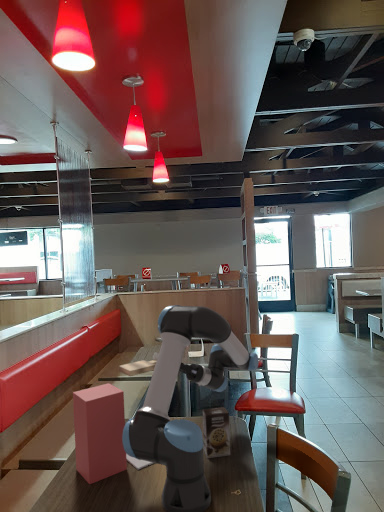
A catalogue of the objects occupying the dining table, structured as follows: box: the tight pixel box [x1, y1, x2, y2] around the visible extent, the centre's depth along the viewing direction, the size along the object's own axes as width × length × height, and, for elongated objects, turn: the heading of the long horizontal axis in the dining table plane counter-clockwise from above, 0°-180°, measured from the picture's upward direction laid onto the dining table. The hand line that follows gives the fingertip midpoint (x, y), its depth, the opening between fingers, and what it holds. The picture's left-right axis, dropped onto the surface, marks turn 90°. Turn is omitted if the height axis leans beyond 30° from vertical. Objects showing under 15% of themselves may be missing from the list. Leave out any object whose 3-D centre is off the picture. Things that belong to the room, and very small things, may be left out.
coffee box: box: [202, 406, 231, 459], centre depth 151 cm, size 9×6×16 cm
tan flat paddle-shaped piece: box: [118, 359, 157, 377], centre depth 156 cm, size 23×9×2 cm, turn 127°
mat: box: [126, 453, 154, 471], centre depth 157 cm, size 28×18×1 cm, turn 127°
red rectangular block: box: [72, 383, 128, 485], centre depth 143 cm, size 14×12×28 cm
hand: (156, 356), depth 157 cm, fingers closed on tan flat paddle-shaped piece, 3 cm apart
